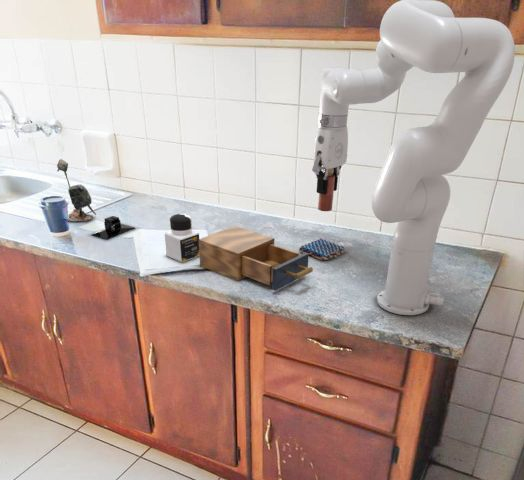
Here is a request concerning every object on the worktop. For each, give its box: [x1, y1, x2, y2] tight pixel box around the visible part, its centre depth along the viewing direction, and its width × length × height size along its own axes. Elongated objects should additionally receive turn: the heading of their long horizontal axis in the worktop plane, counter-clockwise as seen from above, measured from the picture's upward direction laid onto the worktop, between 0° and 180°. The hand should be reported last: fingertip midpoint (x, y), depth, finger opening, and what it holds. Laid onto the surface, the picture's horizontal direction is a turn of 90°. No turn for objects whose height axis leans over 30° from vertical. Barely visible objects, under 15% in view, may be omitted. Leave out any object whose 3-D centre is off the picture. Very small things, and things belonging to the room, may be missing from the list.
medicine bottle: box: [164, 213, 200, 263], centre depth 147 cm, size 7×7×12 cm
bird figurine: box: [56, 158, 97, 222], centre depth 170 cm, size 8×11×20 cm
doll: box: [317, 168, 335, 212], centre depth 144 cm, size 4×4×12 cm
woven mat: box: [298, 238, 346, 261], centre depth 154 cm, size 10×11×2 cm
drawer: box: [240, 243, 314, 292], centre depth 136 cm, size 18×14×6 cm
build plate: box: [91, 215, 136, 241], centre depth 165 cm, size 12×7×5 cm, turn 147°
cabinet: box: [198, 225, 275, 282], centre depth 144 cm, size 15×15×8 cm
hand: (326, 190), depth 144 cm, fingers closed on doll, 4 cm apart
